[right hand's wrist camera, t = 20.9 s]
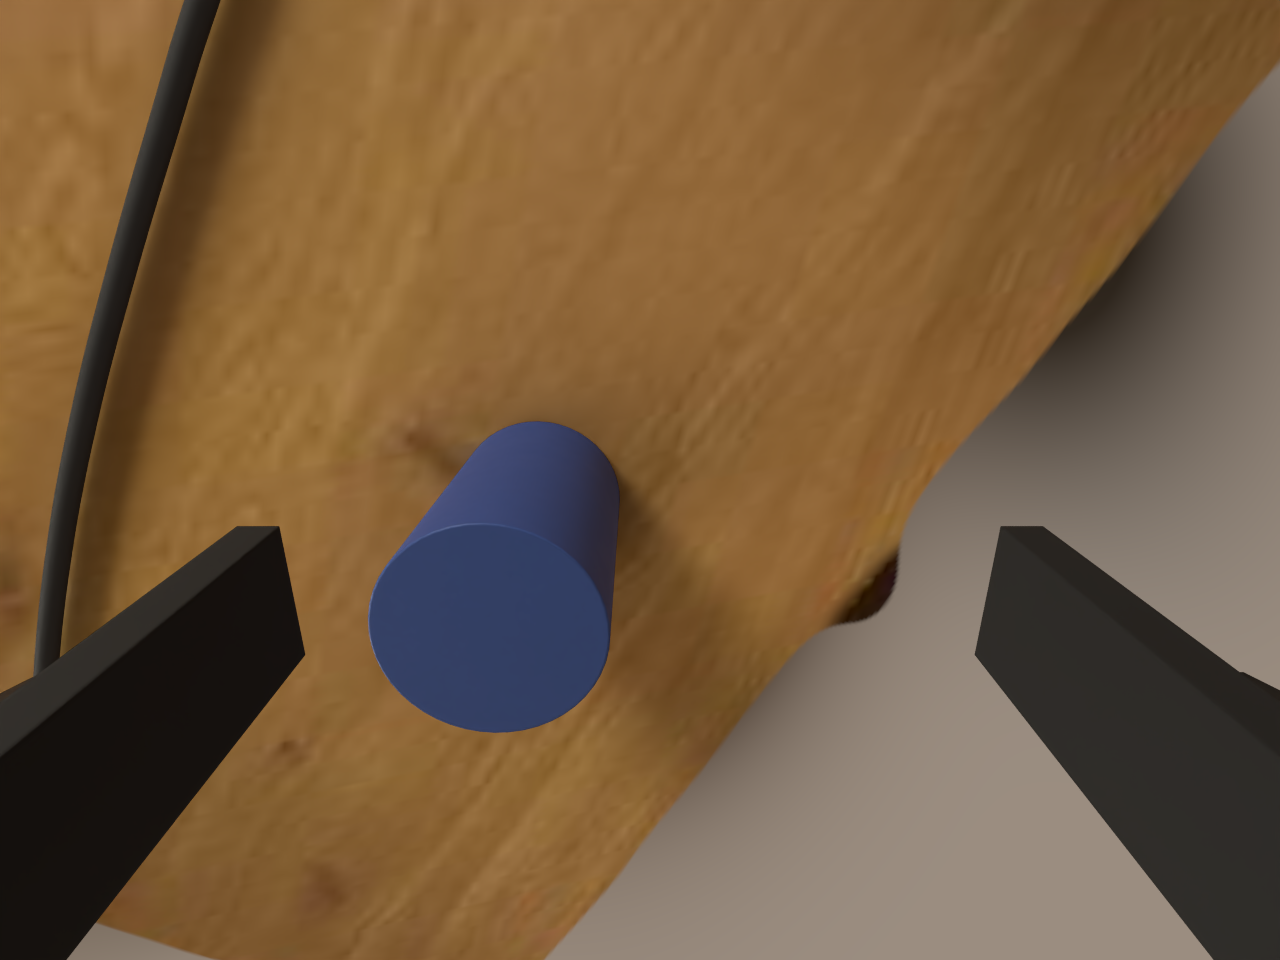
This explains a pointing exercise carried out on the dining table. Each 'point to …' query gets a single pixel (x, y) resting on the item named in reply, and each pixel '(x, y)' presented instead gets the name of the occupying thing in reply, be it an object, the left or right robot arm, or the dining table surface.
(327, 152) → the dining table surface
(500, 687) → the cylinder
